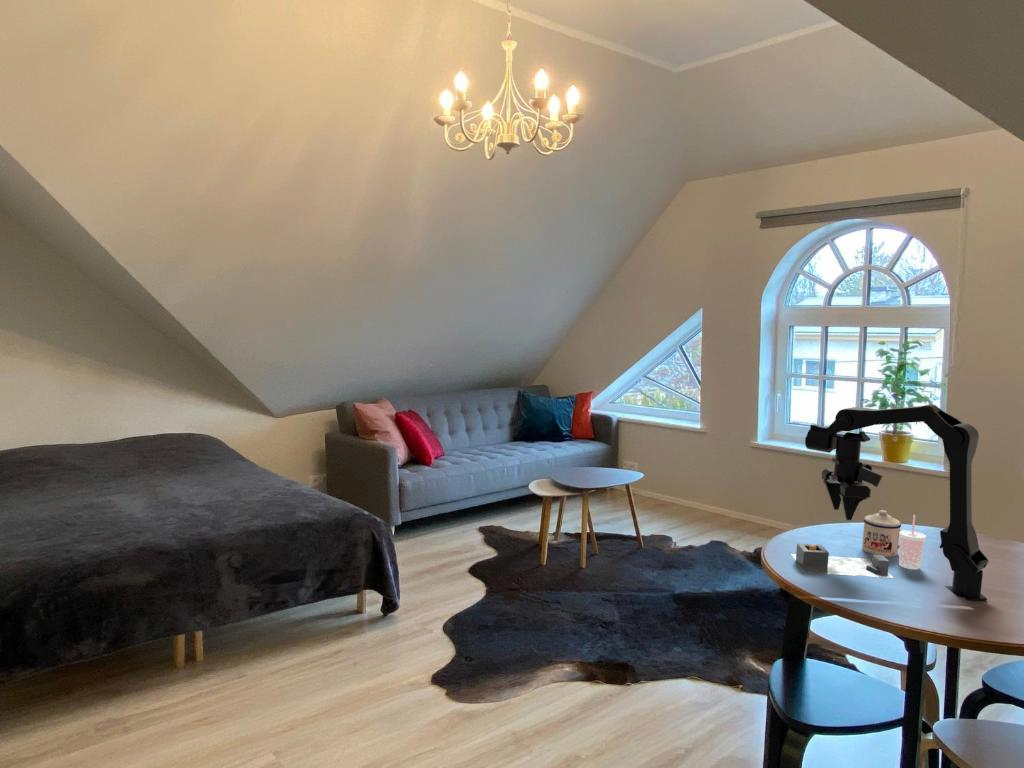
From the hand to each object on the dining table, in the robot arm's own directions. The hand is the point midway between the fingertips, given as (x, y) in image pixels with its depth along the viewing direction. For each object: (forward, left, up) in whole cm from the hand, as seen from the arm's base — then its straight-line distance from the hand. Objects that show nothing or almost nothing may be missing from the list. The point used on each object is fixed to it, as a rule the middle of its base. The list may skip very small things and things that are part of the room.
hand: (842, 514), depth 194 cm
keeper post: (-8, +9, -12) cm, 17 cm away
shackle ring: (-8, +9, -11) cm, 17 cm away
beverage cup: (-4, -16, -12) cm, 21 cm away
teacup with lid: (+6, -14, -12) cm, 20 cm away
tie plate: (-7, +2, -12) cm, 14 cm away
